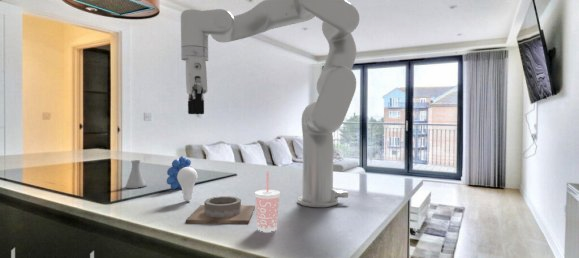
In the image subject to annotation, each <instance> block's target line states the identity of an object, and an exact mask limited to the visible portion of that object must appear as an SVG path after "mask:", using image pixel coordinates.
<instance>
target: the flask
mask: <svg viewBox="0 0 579 258" xmlns="http://www.w3.org/2000/svg"><path fill="white" fill-rule="evenodd" d="M130 162H131V169H130V174H129V176H128V179H127V181H126V184H125V188H127V189H139V188H138V187H141V188H145V187H147V183H146V181H145V179H144V176H143V174H142V170H141V166H140V163H141V159H133V160H131V161H130Z"/></svg>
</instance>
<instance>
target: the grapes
mask: <svg viewBox="0 0 579 258" xmlns="http://www.w3.org/2000/svg"><path fill="white" fill-rule="evenodd" d="M191 165H192V161H191V159H189V158H186V157H185V156H179V158H178V159H177V158H176V159H173V161H172V162H171V166H170V167H168V168H167V171H166V172H167V175H168V177H167V179H166V184H167V185H169V186H170V189H171V190H172V191H174V190H175V191H176V190H177V189H179V190H182V187H181V185H180V183H179V182H178V179H177V175H178V172H179V171H180V170H181V169H182V168H184V167H191V168H193V167H192V166H191Z"/></svg>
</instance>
